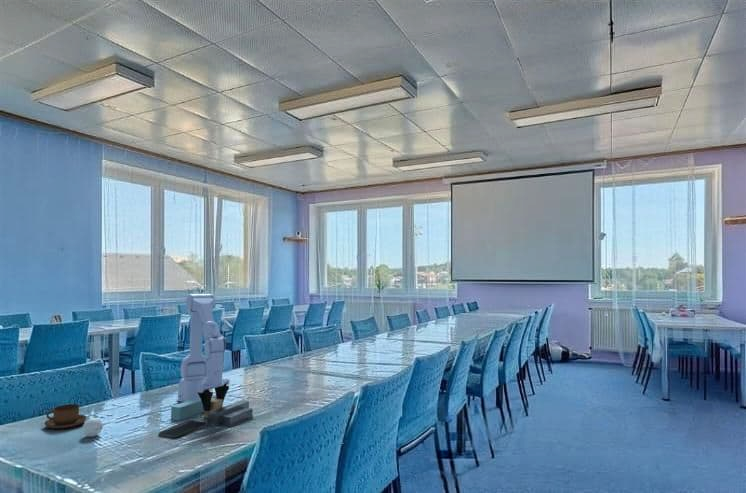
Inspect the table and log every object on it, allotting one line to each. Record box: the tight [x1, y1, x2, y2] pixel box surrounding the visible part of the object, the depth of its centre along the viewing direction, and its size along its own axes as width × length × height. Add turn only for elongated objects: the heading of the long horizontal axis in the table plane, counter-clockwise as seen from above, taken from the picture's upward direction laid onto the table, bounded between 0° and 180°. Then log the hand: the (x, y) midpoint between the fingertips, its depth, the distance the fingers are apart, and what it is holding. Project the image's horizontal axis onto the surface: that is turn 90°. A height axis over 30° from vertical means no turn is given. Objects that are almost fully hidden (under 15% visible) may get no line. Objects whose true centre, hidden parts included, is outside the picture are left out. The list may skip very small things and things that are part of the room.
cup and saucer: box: [44, 403, 87, 430], centre depth 163 cm, size 12×12×6 cm
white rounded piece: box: [81, 417, 103, 438], centre depth 153 cm, size 8×6×6 cm
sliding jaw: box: [170, 394, 216, 422], centre depth 179 cm, size 4×18×4 cm, turn 156°
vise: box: [207, 399, 254, 428], centre depth 171 cm, size 7×18×4 cm, turn 156°
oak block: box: [203, 398, 224, 419], centre depth 175 cm, size 4×4×6 cm
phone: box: [158, 420, 208, 440], centre depth 159 cm, size 8×1×15 cm
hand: (213, 408), depth 175 cm, fingers open, 6 cm apart
